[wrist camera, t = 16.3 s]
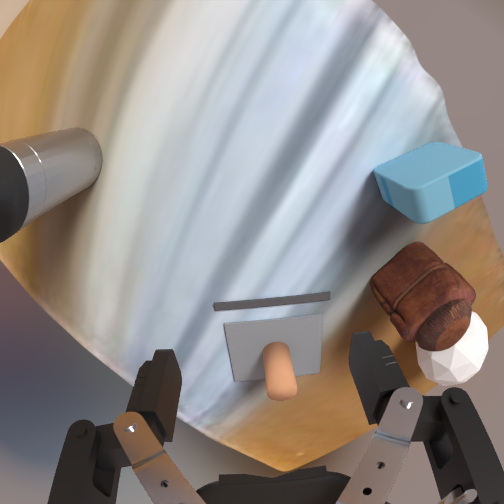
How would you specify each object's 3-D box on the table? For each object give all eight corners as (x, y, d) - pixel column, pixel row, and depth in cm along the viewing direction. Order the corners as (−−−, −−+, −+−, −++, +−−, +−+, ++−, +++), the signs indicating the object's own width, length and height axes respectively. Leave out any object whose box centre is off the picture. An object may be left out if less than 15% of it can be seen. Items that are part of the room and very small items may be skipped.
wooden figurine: (382, 301, 49) (427, 377, 32) (362, 278, 47) (410, 356, 30) (433, 256, 46) (496, 317, 29) (417, 230, 43) (486, 289, 27)
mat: (229, 380, 55) (229, 381, 55) (214, 302, 48) (214, 304, 47) (324, 370, 55) (324, 372, 55) (329, 291, 47) (330, 293, 47)
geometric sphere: (432, 317, 58) (455, 379, 51) (389, 333, 52) (414, 406, 45) (481, 286, 47) (508, 356, 39) (446, 298, 41) (477, 385, 33)
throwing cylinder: (263, 361, 53) (267, 401, 44) (262, 342, 51) (266, 383, 43) (289, 359, 53) (296, 399, 45) (289, 340, 51) (297, 380, 43)
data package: (379, 197, 41) (420, 228, 30) (369, 169, 40) (410, 191, 29) (442, 167, 39) (492, 188, 28) (434, 140, 38) (486, 154, 27)
